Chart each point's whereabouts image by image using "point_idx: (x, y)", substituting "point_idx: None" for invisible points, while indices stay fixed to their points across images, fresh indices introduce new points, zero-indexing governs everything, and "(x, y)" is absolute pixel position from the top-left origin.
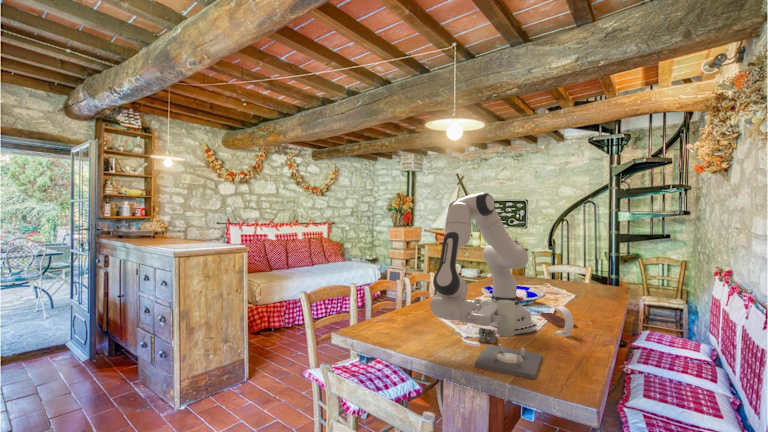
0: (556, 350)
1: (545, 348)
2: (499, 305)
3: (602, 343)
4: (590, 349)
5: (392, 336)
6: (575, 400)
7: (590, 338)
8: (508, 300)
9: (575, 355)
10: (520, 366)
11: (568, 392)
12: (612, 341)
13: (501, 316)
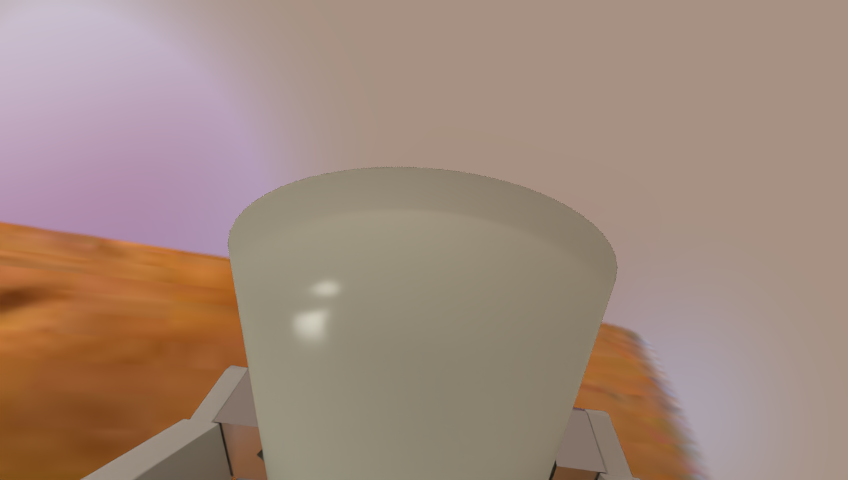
0: (144, 376)
1: (100, 420)
2: (582, 365)
3: (89, 253)
4: (149, 283)
5: None
6: (632, 359)
7: (14, 269)
8: (302, 199)
9: (216, 324)
10: None
11: (590, 370)
12: (76, 235)
13: (620, 464)
